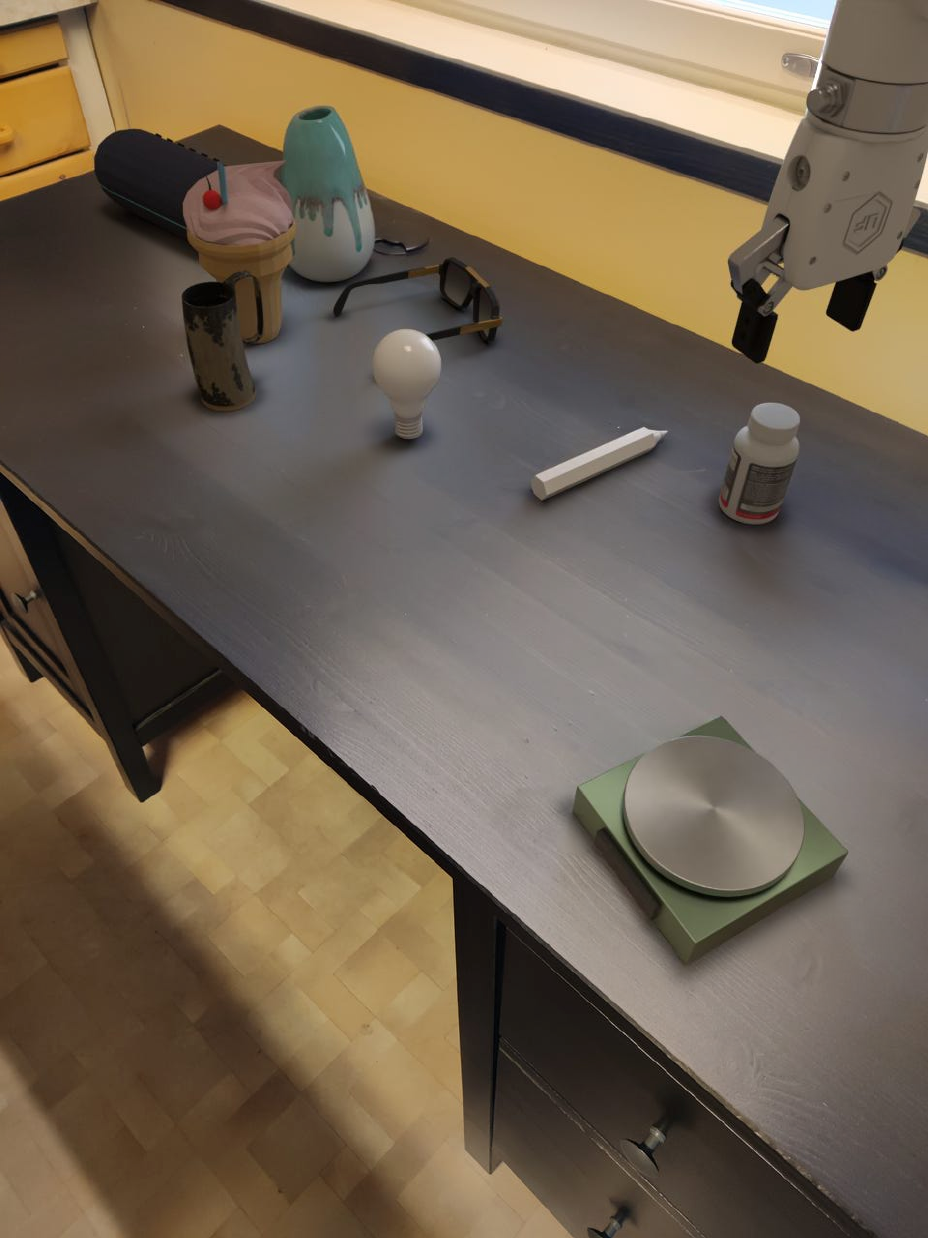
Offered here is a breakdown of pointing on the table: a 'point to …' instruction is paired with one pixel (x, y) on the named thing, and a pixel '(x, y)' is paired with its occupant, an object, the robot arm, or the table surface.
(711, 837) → the pan
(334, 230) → the vase
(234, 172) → the ice cream cone
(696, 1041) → the table surface
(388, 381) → the lightbulb
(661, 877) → the scale
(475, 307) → the sunglasses
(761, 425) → the pill bottle
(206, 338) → the mug
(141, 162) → the portable speaker
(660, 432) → the white pencil
